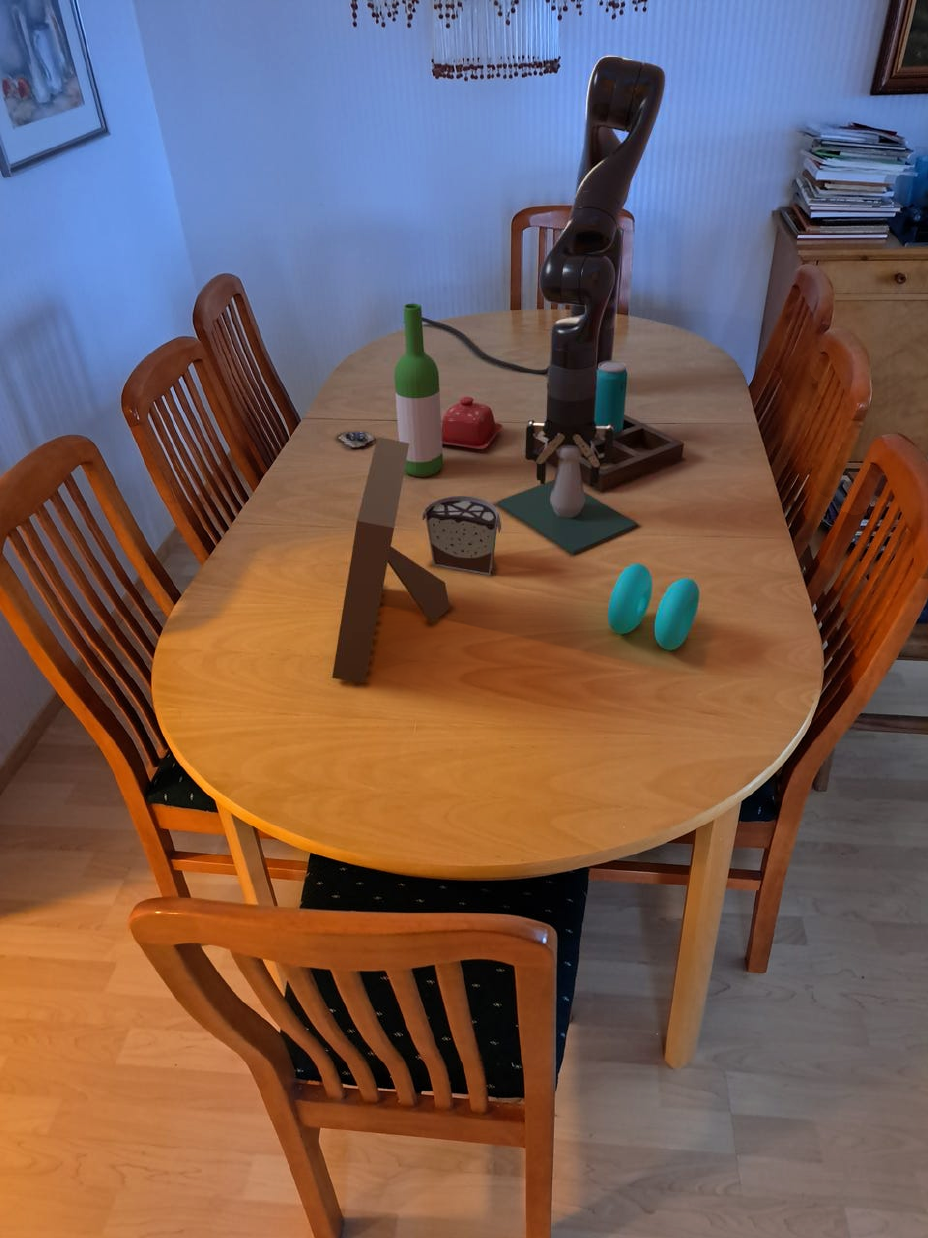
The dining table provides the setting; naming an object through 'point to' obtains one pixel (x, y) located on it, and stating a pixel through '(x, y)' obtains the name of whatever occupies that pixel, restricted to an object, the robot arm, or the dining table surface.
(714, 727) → the dining table surface
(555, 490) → the salt shaker
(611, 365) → the beverage can
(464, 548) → the food container
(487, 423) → the butter dish
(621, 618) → the donuts
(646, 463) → the stand
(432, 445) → the wine bottle
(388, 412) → the dining table surface
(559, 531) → the placemat
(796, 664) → the dining table surface
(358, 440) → the blueberries
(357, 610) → the photo frame
